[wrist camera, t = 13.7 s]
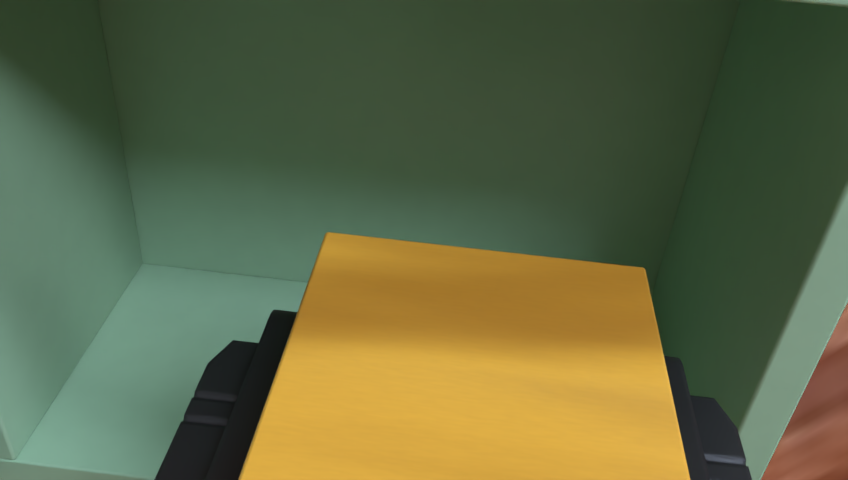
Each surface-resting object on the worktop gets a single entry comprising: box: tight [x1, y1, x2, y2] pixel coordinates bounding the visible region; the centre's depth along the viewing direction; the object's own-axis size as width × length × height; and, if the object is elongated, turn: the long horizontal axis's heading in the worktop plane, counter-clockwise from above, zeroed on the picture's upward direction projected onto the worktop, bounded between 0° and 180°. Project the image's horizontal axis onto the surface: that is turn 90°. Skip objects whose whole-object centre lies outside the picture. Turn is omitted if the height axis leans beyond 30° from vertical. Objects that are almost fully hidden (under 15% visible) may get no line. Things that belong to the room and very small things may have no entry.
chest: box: [0, 0, 848, 480], centre depth 16 cm, size 16×13×8 cm
